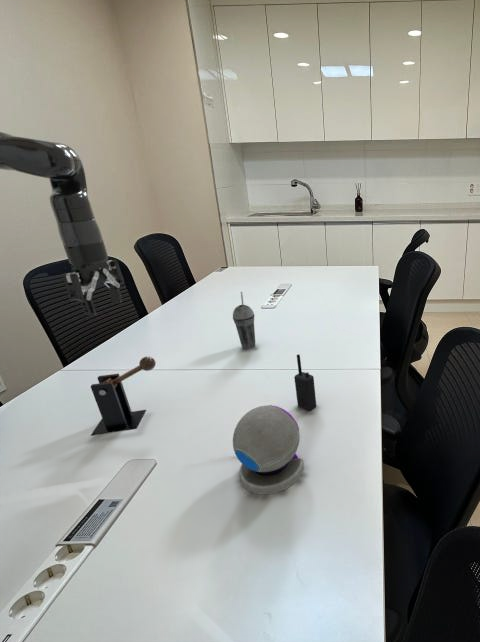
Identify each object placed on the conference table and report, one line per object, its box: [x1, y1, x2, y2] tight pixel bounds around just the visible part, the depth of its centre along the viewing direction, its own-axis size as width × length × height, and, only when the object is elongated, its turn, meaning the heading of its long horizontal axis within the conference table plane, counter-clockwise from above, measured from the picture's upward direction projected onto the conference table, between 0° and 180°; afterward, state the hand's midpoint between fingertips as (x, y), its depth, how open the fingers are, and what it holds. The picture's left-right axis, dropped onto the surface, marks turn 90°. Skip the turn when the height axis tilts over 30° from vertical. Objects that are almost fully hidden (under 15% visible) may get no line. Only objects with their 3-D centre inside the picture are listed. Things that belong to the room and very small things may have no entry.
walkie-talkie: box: [294, 354, 317, 412], centre depth 100 cm, size 5×3×15 cm
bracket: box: [90, 373, 147, 436], centre depth 94 cm, size 10×8×13 cm
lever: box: [102, 356, 157, 388], centre depth 92 cm, size 14×3×3 cm, turn 103°
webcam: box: [232, 404, 305, 495], centre depth 78 cm, size 13×13×15 cm
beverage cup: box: [232, 291, 256, 350], centre depth 134 cm, size 7×7×20 cm
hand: (105, 308), depth 94 cm, fingers open, 8 cm apart
